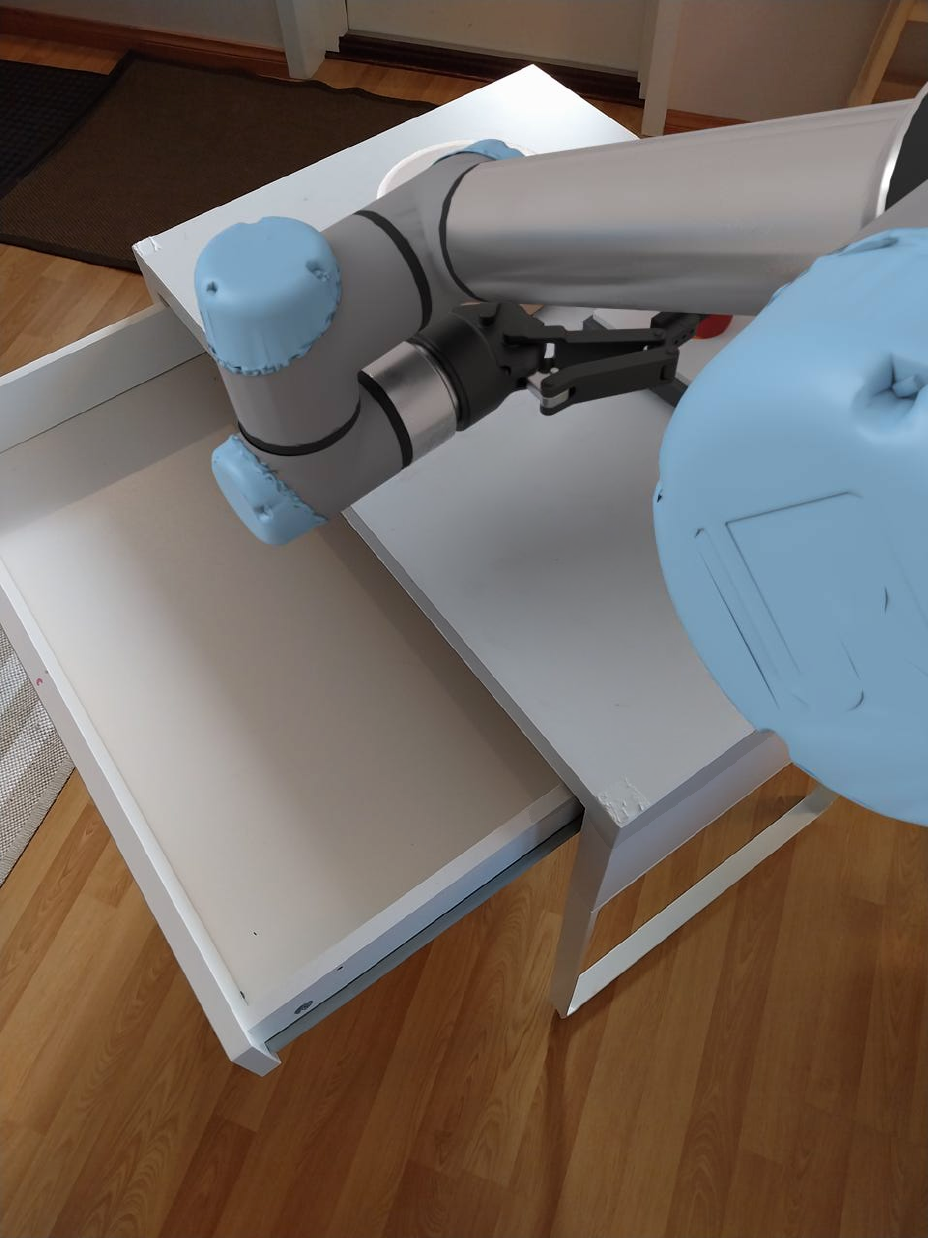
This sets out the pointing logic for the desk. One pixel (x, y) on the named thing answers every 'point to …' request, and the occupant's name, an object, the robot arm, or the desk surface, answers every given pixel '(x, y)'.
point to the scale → (691, 353)
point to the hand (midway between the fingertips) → (648, 248)
